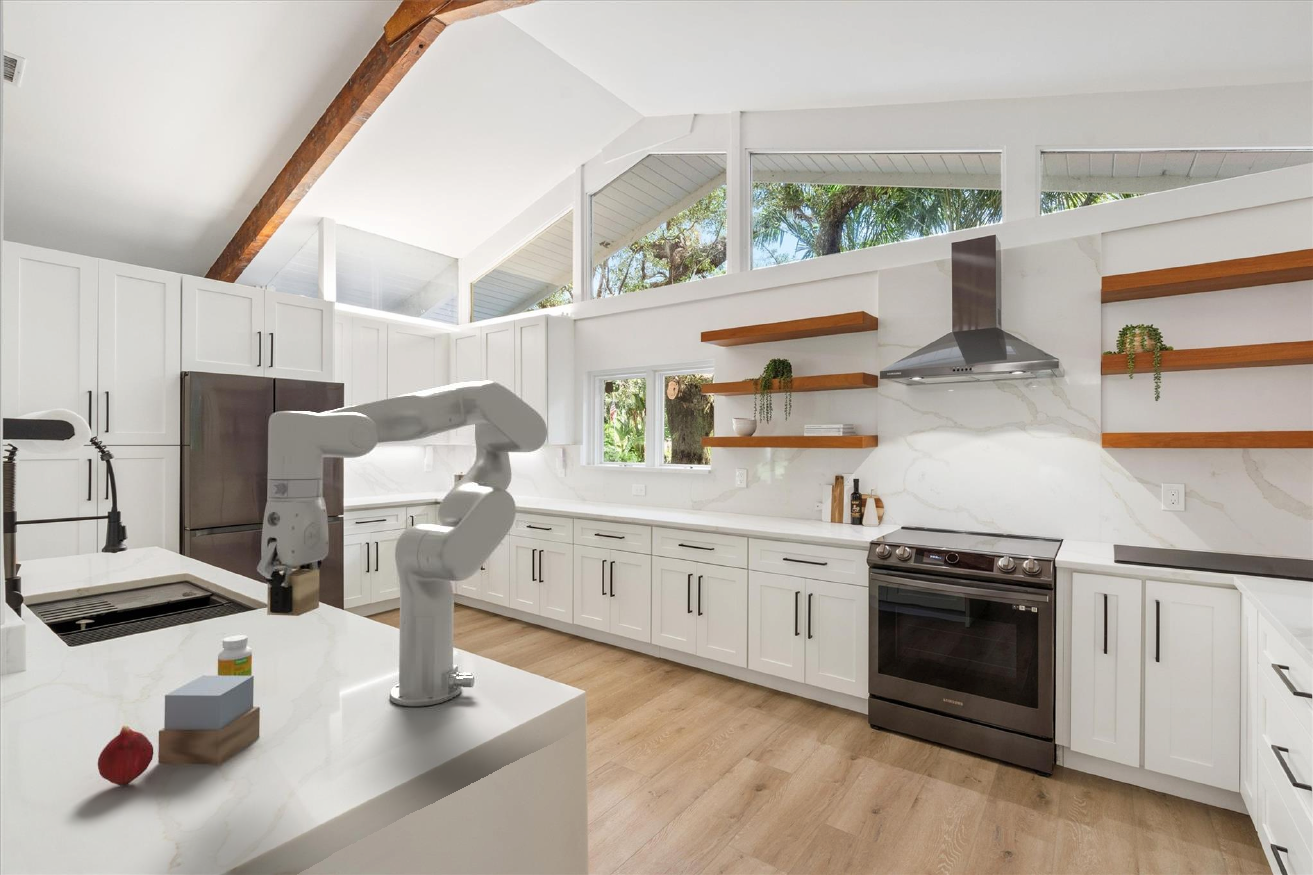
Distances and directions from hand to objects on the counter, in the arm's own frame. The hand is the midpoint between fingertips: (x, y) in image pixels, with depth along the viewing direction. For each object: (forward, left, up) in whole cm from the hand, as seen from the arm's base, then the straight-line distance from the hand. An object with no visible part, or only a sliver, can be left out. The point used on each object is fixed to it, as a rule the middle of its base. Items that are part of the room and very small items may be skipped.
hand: (293, 606), depth 99 cm
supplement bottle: (+24, -21, -22) cm, 39 cm away
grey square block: (+11, +2, -17) cm, 20 cm away
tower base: (+11, +2, -22) cm, 25 cm away
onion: (+15, +13, -22) cm, 29 cm away
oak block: (0, 0, -1) cm, 1 cm away
